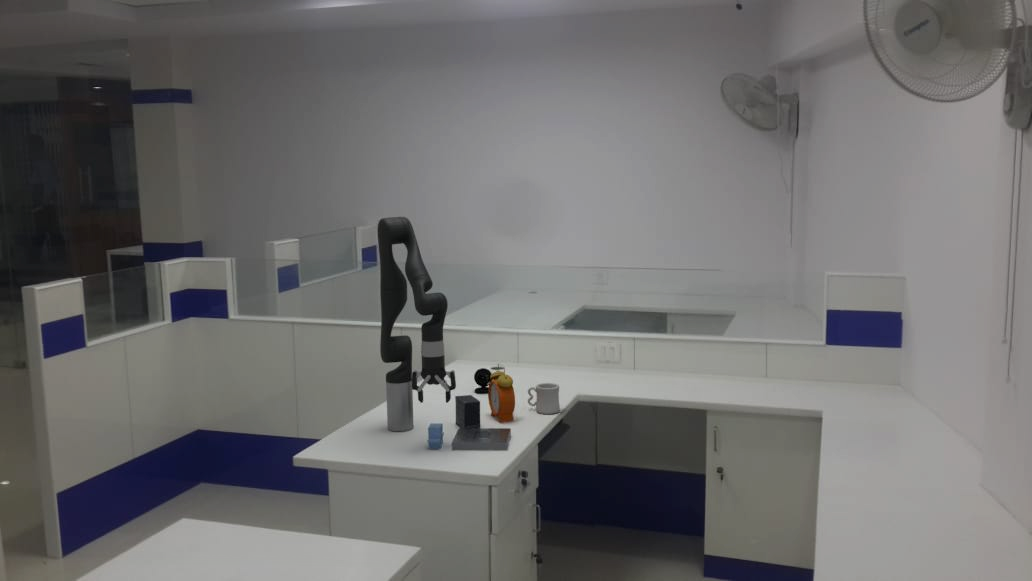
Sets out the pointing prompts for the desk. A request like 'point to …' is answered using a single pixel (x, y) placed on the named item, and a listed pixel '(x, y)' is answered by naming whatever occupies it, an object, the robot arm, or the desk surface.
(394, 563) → the desk surface
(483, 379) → the black desk fan
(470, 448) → the plate
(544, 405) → the mug
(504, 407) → the alarm clock
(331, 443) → the desk surface
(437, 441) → the block
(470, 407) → the small box
